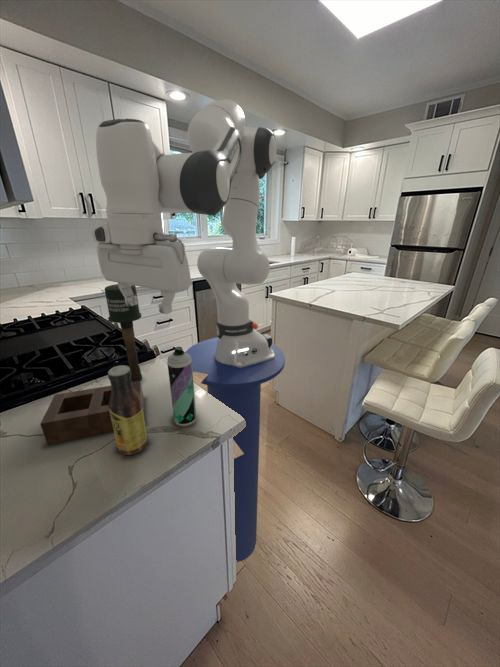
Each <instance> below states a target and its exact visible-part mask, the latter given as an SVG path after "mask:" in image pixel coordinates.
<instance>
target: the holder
mask: <svg viewBox="0 0 500 667" xmlns="http://www.w3.org/2000/svg"><path fill="white" fill-rule="evenodd" d="M132 385H133V388H134V389H135V390H137V391H138V392H139V395H140V399H141V405H142V408H143V415H144V416H145V398H144V392H143V385H142V381H136V382H132ZM111 391H112V387H111V385H105V386H99V387H93V388H87V389H80V390H74V391H69V392H63V393H56V394H54V395H53V397H52V400H51V401H50V403H49V406H48V408H47V409H46V411H45V414H44V416H43V417H42V419H41V421H40V427H41V430H42V433H43V436H44V439H45V442H46V444H47V446H51V445H55V444H60V443H65V442H69V441H70V442H71V441H74V440H79V439H84V438H87V437H93V436H97V435H103V434H108V433H114V430H113V426H112V421H111V417H110V412H109V408H108V406H109V401H110V396H111Z"/></svg>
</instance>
